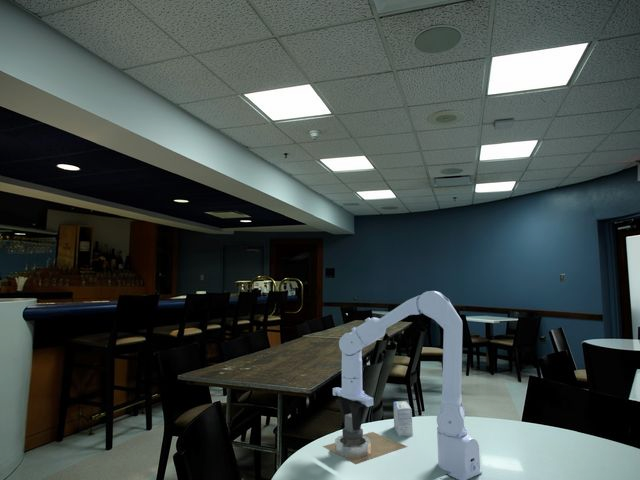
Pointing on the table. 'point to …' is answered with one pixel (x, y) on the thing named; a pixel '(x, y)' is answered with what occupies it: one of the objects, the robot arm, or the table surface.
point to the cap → (351, 429)
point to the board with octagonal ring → (364, 447)
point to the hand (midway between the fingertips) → (352, 427)
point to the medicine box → (403, 419)
